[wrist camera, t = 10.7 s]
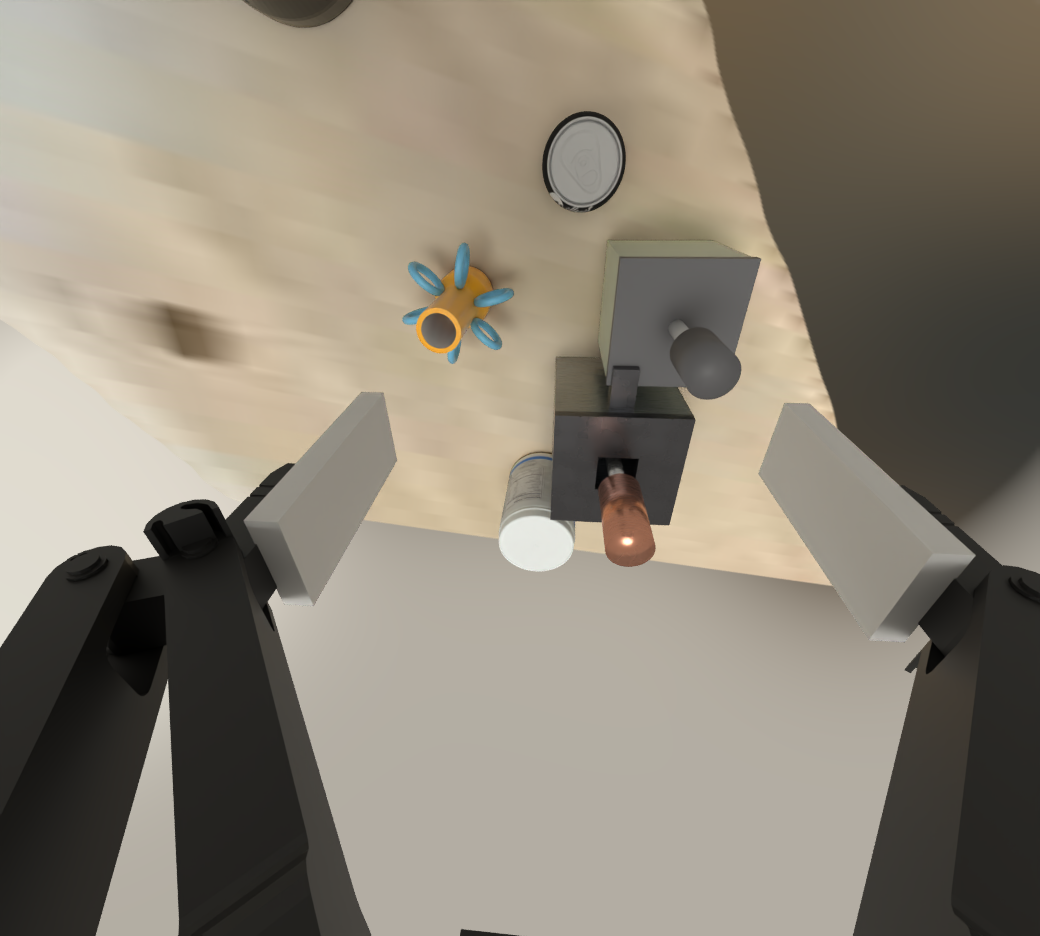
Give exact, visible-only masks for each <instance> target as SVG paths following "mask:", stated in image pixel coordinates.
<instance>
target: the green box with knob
mask: <svg viewBox="0 0 1040 936" xmlns="http://www.w3.org/2000/svg"><path fill="white" fill-rule="evenodd" d="M760 261H761V259H760V258H758V257H751V256H748V255H746V254H744V253H741V252H739V251H736V250H734V249H732V248H729V247H727V246H725V245H722V244H720V243H718V242H715V241H713V240H607V251H606V261H605V272H604V282H603V293H602V303H601V314H600V324H599V335H598V345H599V349H600V353H601V358H602V362H603V367H604V371H605V375H606V385H611V377H612V369H613V366H639V368H640V375H639V382H638V386H656V387H687V389H688V391H689V392H690V393H691V394H692V395H693V396H695V397H697V398H700V399H706V400H707V399H715V398H718V397H721V396H723V395H725V394H726V393H728V392H729V391H730V390H731V389H733V387H734V386H735V385H736V384H737V382H738V380H739V378H740V374H741V364H740V361H739V359H738V358H737V356H736V355H735V351H736V347H737V344H738V340H739V336H740V333H741V329H742V326H743V322H744V319H745V315H746V311H747V308H748V304H749V301H750V297H751V293H752V290H753V286H754V283H755V279H756V276H757V272H758V268H759V265H760Z"/></svg>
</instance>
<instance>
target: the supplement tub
mask: <svg viewBox="0 0 1040 936" xmlns="http://www.w3.org/2000/svg"><path fill="white" fill-rule="evenodd" d="M551 479H552V455H551V454H547V453H534V454H530V455H527V456H525V457H523V458H521V459H520V460H519V461H518V462H517V463H516V464H515V465H514V466H513V468H512V470H511V473H510V477H509V482H508V487H507V492H506V497H505V503H504V508H503V513H502V518H501V523H500V529H499V547H500V550H501V552H502V554H503V555H504V557H505V558H506V559H507V560H508V561H509V562H510V563H512V564H514V565H515V566H517V567H519V568H522V569H525V570H529V571H547V570H552V569H555V568H557V567H559V566H561V565H562V564H564V563H565V562H566V561H567V560H568V559H569V558H570V556H571V555H572V552H573V549H574V542H575V521H562V520H550V514H551Z"/></svg>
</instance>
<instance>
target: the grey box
mask: <svg viewBox="0 0 1040 936" xmlns="http://www.w3.org/2000/svg"><path fill="white" fill-rule="evenodd" d="M639 375H640V368H639V366H613V369H612V377H611V385H606V375H605V371H604V367H603V362H602V358H587V357H556V371H555V395H554V420H553V444H552V479H551V514H550V520H562V521H584V522H602V519H601V510H600V502H599V494H598V489H599V485H600V484H601V482H602V481H603V480H604V479H605V478H607V477H608V471H607V465H606V458H621V461H622V466H623V470H624V474H628V475H631V476H633V477H634V478H635V479H636V480H637V481H638V482H639V484H640V488H641V492H642V496H643V500H644V503H645V507H646V511H647V515H648V519H649V523H650V525H669V524H670V520H671V516H672V512H673V508H674V504H675V500H676V496H677V492H678V488H679V484H680V480H681V476H682V472H683V468H684V464H685V460H686V456H687V452H688V448H689V444H690V440H691V436H692V432H693V428H694V424H695V418H694V416H693V414H692V412H691V411H690V409H689V407H688V405H687V403H686V402H685V400H684V398H683V396H682V394H681V393H680V391H679V389H678V387H656V386H638V382H639Z"/></svg>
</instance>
